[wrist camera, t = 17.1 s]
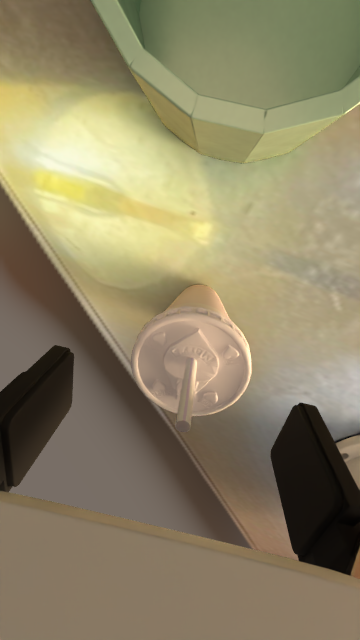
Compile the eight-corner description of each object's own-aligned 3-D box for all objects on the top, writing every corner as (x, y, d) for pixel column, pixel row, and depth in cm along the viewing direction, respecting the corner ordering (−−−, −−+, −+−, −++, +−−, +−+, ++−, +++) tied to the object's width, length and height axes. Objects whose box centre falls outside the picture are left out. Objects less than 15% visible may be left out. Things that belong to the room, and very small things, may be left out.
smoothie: (246, 276, 21) (297, 386, 8) (226, 345, 24) (243, 509, 11) (167, 261, 21) (99, 345, 8) (157, 331, 24) (93, 475, 11)
